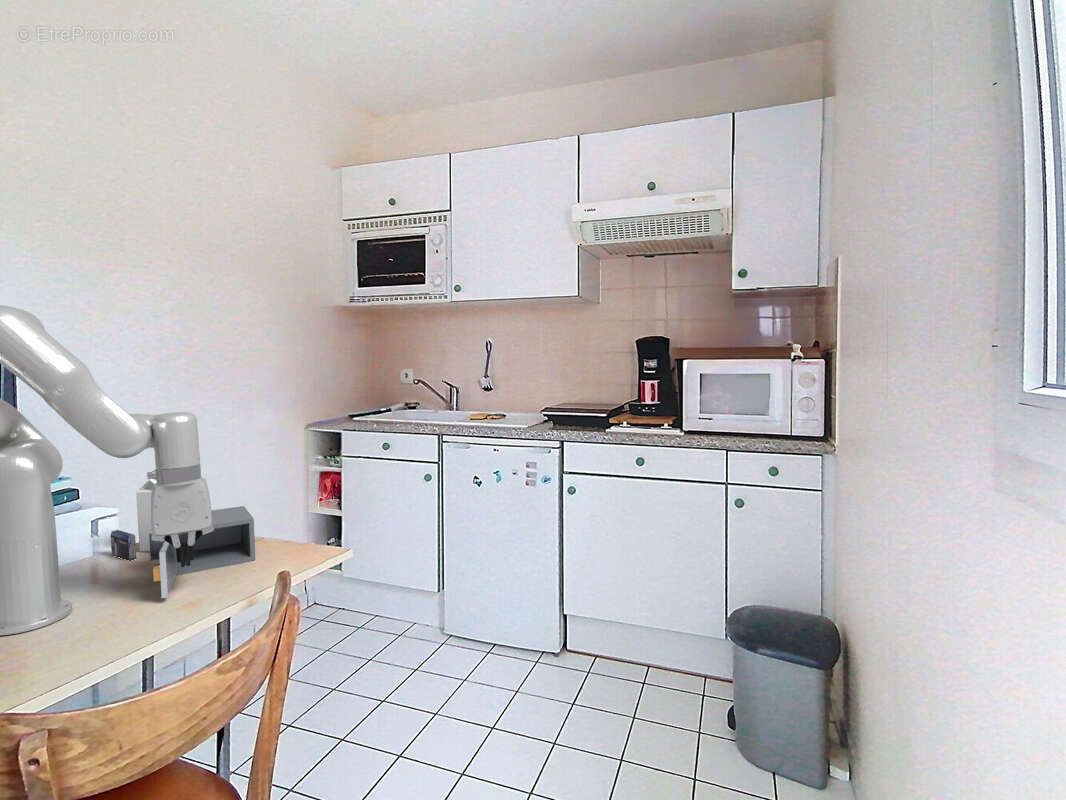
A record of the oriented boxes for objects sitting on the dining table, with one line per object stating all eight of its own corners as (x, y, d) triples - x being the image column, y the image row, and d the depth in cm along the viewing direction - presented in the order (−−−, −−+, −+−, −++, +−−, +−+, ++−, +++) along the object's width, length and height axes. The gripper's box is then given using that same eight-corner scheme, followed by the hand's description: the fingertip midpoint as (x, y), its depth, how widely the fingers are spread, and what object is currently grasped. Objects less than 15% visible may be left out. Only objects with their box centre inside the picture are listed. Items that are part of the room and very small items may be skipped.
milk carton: (139, 552, 138) (134, 475, 136) (159, 542, 145) (155, 469, 144) (167, 552, 138) (163, 475, 136) (186, 543, 145) (182, 469, 143)
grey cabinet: (152, 580, 120) (149, 534, 119) (150, 561, 131) (148, 519, 131) (255, 560, 132) (253, 518, 131) (245, 544, 143) (243, 505, 142)
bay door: (165, 573, 121) (163, 532, 121) (177, 571, 122) (175, 530, 122) (154, 599, 108) (151, 553, 107) (167, 597, 109) (165, 551, 108)
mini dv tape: (111, 555, 136) (110, 531, 135) (118, 554, 137) (117, 529, 136) (129, 561, 131) (127, 536, 131) (136, 559, 133) (135, 534, 132)
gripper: (131, 483, 105) (139, 578, 106) (222, 473, 112) (228, 562, 114) (135, 476, 111) (142, 566, 113) (221, 467, 119) (227, 551, 120)
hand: (185, 564), depth 113 cm, fingers closed
